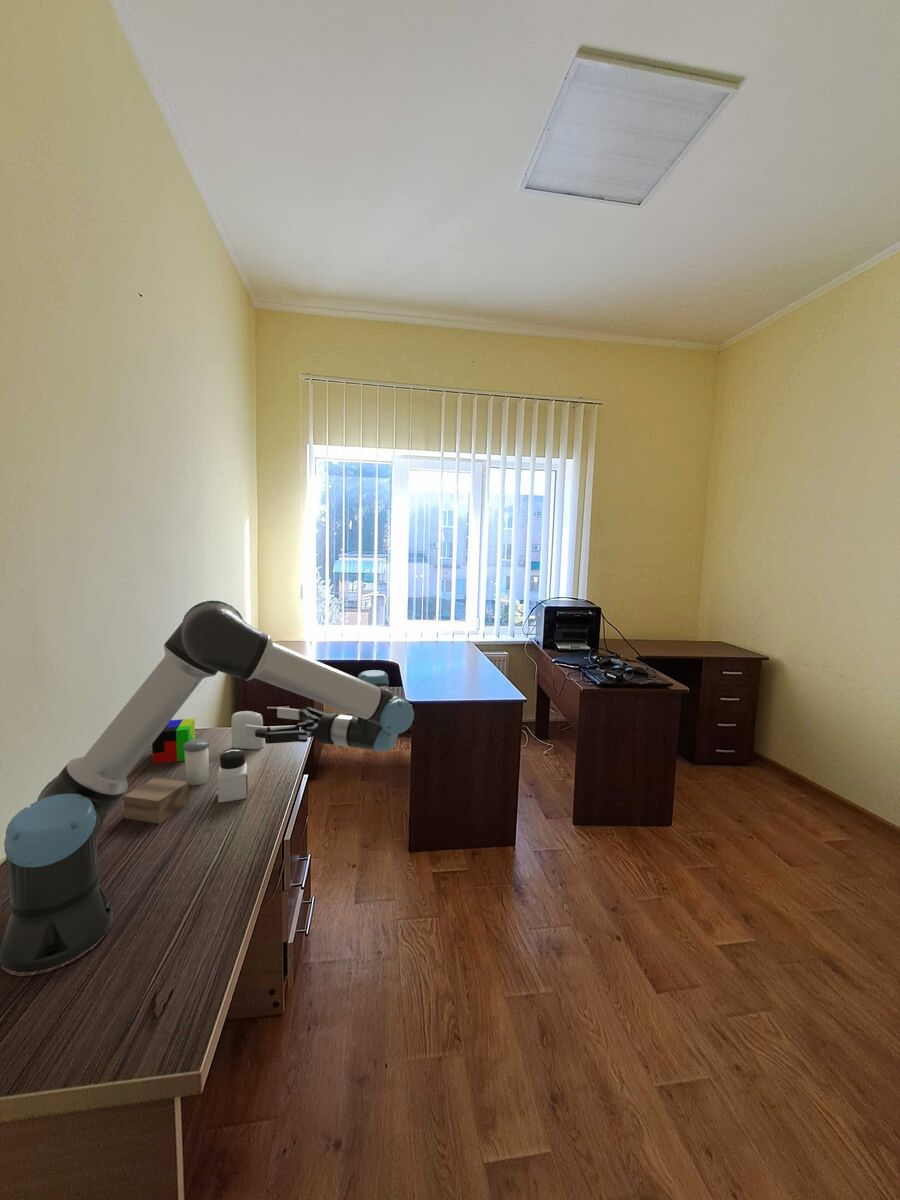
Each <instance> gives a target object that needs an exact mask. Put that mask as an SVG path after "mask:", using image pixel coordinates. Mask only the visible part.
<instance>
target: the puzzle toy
mask: <svg viewBox="0 0 900 1200" xmlns="http://www.w3.org/2000/svg"><path fill="white" fill-rule="evenodd" d="M195 729H196V728H195V718H185V719H184V718H183V719H171V720H170V722H169V723H168V724H167V725H166V727H165V728H164V729H163V731H162V732H161V733H160V734H159V736H158V737H157V738H156V740H155V741H154V742H153V743H152V745H151V748H152V749H151V750H152V764H160V763H161V764H162V763H173V762H183V761H184V762H185V750H184V743H186V742H187V741H190V740H193V739H196V731H195Z"/></svg>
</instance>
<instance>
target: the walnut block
mask: <svg viewBox="0 0 900 1200" xmlns="http://www.w3.org/2000/svg"><path fill="white" fill-rule="evenodd" d="M189 787H190V785H189V783H188V782H186V780H185V781H184V780H177V779H169V778H162V777H154V778H152V779H150V780H148V781H147V782H145V783H143V784H142V785H140V786H138V787H137V788H135V789H133V790H131V791H130V792H127V793H126V794H123V806H124V807H123V810H124V819H128V820H135V821H141V822H147V823H153V824H161V823H163V822H164V821H165V820H167V819H168V818H170V817H171V816H173V815H174V814H175V813H177V812H179V811H180V810H181V809H183V807H186V806H187V805H188V804H190V789H189Z"/></svg>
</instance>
